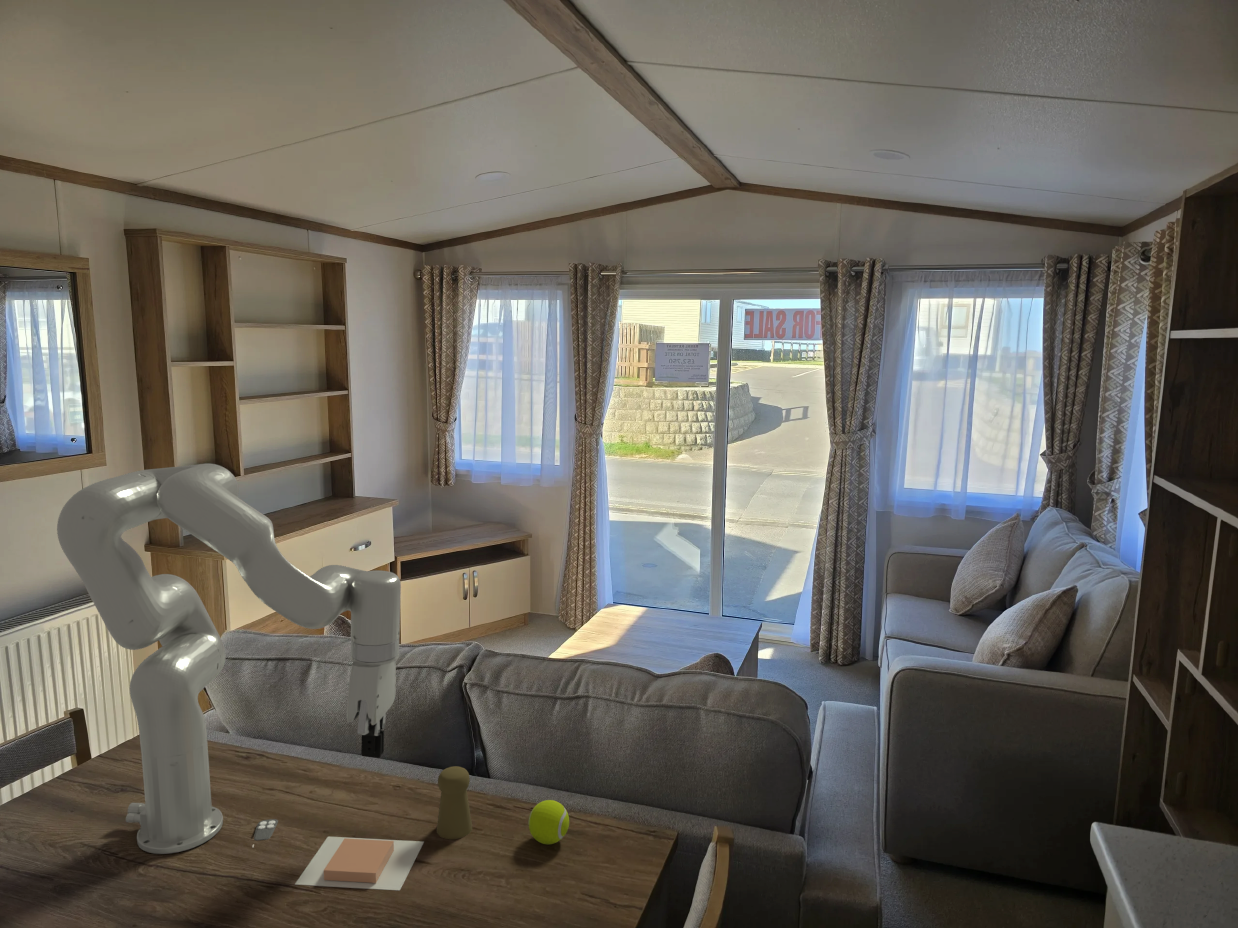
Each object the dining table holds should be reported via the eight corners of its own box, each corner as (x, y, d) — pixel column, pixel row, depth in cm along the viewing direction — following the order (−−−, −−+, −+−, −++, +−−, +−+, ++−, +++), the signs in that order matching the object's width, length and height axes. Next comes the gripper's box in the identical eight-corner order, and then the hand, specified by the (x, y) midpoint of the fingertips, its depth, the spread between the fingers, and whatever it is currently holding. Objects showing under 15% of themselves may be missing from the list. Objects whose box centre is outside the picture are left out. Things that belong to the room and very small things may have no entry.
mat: (295, 887, 124) (294, 883, 124) (328, 839, 136) (327, 836, 136) (399, 893, 123) (399, 889, 123) (424, 844, 135) (423, 841, 135)
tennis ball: (539, 824, 141) (539, 788, 140) (575, 833, 139) (575, 796, 138) (521, 847, 135) (521, 809, 134) (558, 856, 132) (559, 818, 131)
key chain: (257, 826, 140) (256, 818, 140) (280, 824, 141) (279, 816, 141) (237, 875, 128) (236, 866, 127) (263, 872, 128) (262, 863, 128)
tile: (344, 848, 133) (324, 880, 125) (344, 838, 133) (323, 869, 125) (393, 850, 132) (376, 883, 124) (393, 840, 132) (375, 872, 124)
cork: (464, 844, 135) (463, 782, 133) (430, 839, 136) (428, 777, 135) (478, 823, 141) (477, 763, 139) (445, 819, 142) (443, 759, 140)
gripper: (369, 630, 141) (367, 731, 144) (333, 663, 126) (331, 775, 129) (412, 634, 141) (409, 735, 143) (381, 668, 126) (378, 780, 129)
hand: (372, 754), depth 136 cm, fingers closed
